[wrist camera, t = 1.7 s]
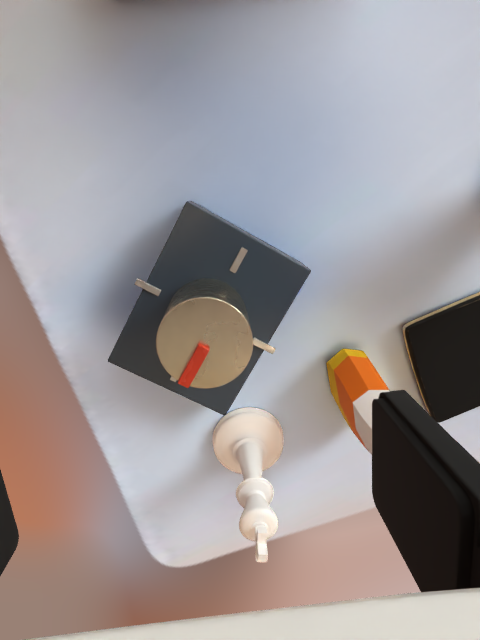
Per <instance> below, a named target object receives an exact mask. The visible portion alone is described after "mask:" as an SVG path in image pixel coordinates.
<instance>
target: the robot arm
mask: <svg viewBox="0 0 480 640" xmlns="http://www.w3.org/2000/svg"><path fill="white" fill-rule="evenodd" d="M372 493H373V499H374V502H375V505H376V507H377V509H378V511H379V513H380V515H381V517H382V519H383V521H384V522H385V524H386V526H387V528H388V530H389V532H390V534H391V536H392V538H393V540H394V541H395V543H396V545H397V547H398V549H399V551H400V553H401V555H402V557H403V559H404V560H405V562H406V564H407V566H408V568H409V570H410V572H411V573H412V576H413V577H414V579H415V581H416V583H417V585H418V587H419V589H420V591H421V592H418V593H407V594H399V595H390V596H381V597H372V598H364V599H355V600H346V601H338V602H329V603H320V604H312V605H304V606H295V607H287V608H278V609H269V610H260V611H252V612H243V613H236V614H226V615H219V616H210V617H202V618H194V619H185V620H177V621H169V622H160V623H152V624H145V625H136V626H128V627H120V628H112V629H104V630H96V631H88V632H80V633H72V634H64V635H56V636H48V637H40V638H32V639H25V640H480V464H479V463H478V462H477V461H476V460H475V459H474V458H473V457H472V456H471V455H470V454H469V453H468V452H467V451H466V450H465V449H464V448H463V447H462V446H461V445H460V444H459V443H458V442H457V441H455V440H454V439H453V438H452V437H451V436H450V435H449V434H448V433H447V432H446V431H445V430H444V429H443V428H442V427H441V426H440V425H439V424H438V423H437V422H436V421H435V420H434V419H433V418H432V417H431V416H430V415H429V414H428V413H427V412H426V411H425V410H424V409H423V408H422V407H421V406H420V405H419V404H418V403H417V402H416V401H415V400H414V399H413V398H412V397H411V396H410V395H409V394H408V393H407V392H406V391H405V390H399V391H390V392H381V393H380V394H379V398H378V399H373V401H372ZM18 537H19V535H18V529H17V525H16V522H15V519H14V515H13V512H12V508H11V505H10V501H9V498H8V495H7V491H6V488H5V484H4V481H3V477H2V474H1V470H0V576H1V574H2V572H3V571H4V569H5V567H6V565H7V564H8V562H9V560H10V558H11V557H12V555H13V553H14V551H15V550H16V547H17V544H18V539H19V538H18Z"/></svg>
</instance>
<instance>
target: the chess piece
mask: <svg viewBox="0 0 480 640" xmlns="http://www.w3.org/2000/svg"><path fill="white" fill-rule="evenodd" d="M212 442H213V447H214V452H215V455H216V457H217V459H218V460H219V462H220V463H221V464H222V465H223V466H224V467H226V468H227V469H229V470H231V471H233V472H235V473H239V474H242V475H243V478H244V481H242V482H241V483H240V484H239V486H238V488H237V490H236V497H237V500H238V502H239V504H240V505H241V506H242V507H243V508H244V511H243V513H242V515H241V518H240V522H239V528H240V531H241V533H242V535H243V536H244V537H245V538H247V539H249V540H251V541H256V549H255V557H256V561H258V562H267V558H268V553H267V545H266V541H267V539H269V538H271V537H272V536H273V535H274V534H275V533H276V531H277V529H278V519H277V516H276V514H275V513H274V511H273V510H272V509H271V508H270V506H269V504H270V503H271V501H272V499H273V494H274V490H273V487H272V485H271V484H270V482H269V481H267V480H266V479H264V478H262V471H264V470H266V469H268V468H269V467H271V466H272V465H273V464H274V463H275V462H276V461H277V460H278V458H279V457H280V455H281V453H282V450H283V444H284V441H283V430H282V427H281V425H280V423H279V422H278V420H277V419H276V418H275V417H274V416H273V415H272V414H270V413H269V412H267V411H265V410H262V409H259V408H253V407H246V408H240V409H236V410H234V411H231V412H230V413H228V414H226V415H225V416H224V417H223V418H222V419H221V420H220V421H219V422H218V424H217V425H216V427H215V429H214V432H213V438H212Z"/></svg>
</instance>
